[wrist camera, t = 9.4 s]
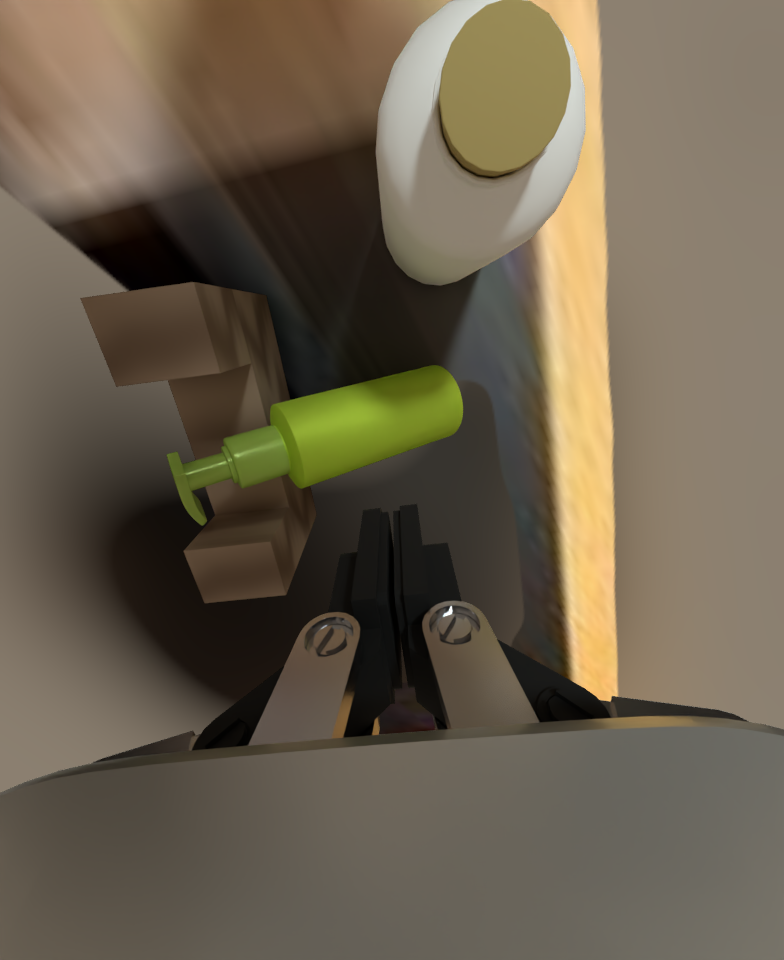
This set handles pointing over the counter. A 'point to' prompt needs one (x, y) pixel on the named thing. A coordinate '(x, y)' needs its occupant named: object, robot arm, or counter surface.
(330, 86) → the counter surface
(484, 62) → the potion bottle
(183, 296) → the bottle rest
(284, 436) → the soap dispenser
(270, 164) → the counter surface
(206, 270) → the counter surface
